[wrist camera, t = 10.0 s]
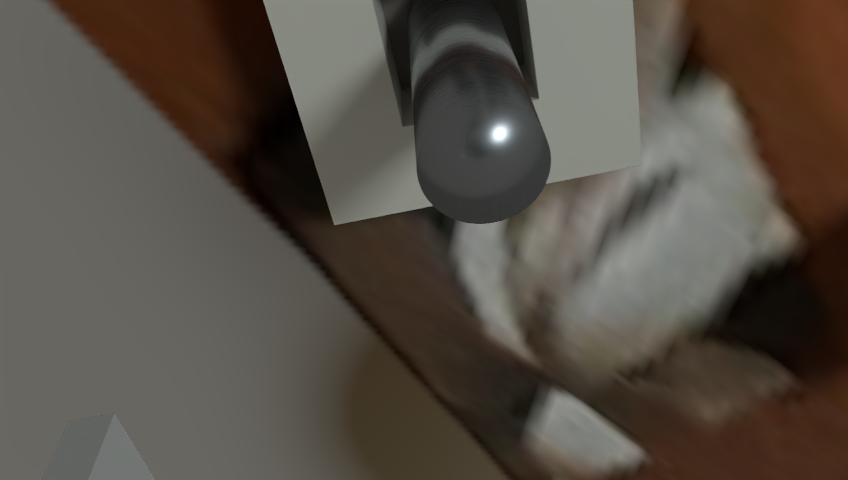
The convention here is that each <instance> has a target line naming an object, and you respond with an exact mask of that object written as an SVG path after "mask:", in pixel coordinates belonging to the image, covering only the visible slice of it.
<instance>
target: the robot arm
mask: <svg viewBox="0 0 848 480" xmlns="http://www.w3.org/2000/svg"><path fill="white" fill-rule="evenodd" d="M42 480H155V479H154V477H153V476H152V474H151V472H150V471H149V469H148V467H147V466H146V464H145V463H144V461H143V459H142V458H141V456H140V454H139V453H138V451H137V449H136V448H135V446H134V444H133V443H132V441H131V440H130V438H129V437H128V435H127V433H126V431H125V430H124V428H123V427H122V425H121V423H120V421H119V420H118V418H117V417H116V415H115V413H112V414H107V415H101V416H95V417H91V418H84V419H79V420H73V421H69V422H68V424H67V426H66V428H65V430H64V433H63V435H62V437H61V439H60V441H59V444H58V446H57V448H56V450H55V452H54V455H53V457H52V459H51V461H50V463H49V466H48V468H47V470H46V472H45V474H44V477H43V479H42Z"/></svg>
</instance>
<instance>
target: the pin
mask: <svg viewBox="0 0 848 480" xmlns="http://www.w3.org/2000/svg"><path fill="white" fill-rule="evenodd" d="M407 24H408V40H409V56H410V72H411V88H412V104H413V120H414V136H415V152H416V168H417V177H418V181H419V184H420V187H421V189H422V191H423V194H424V195H425V197H426V198H427V200H428V201H429V202H430V203H431V204H432V205H433V206H434V207H435V208H436V209H437V210H439V211H440V212H442V213H443V214H445V215H446V216H448V217H451V218H453V219H456V220H458V221H462V222H467V223H475V224H485V223H493V222H497V221H502V220H504V219H507V218H510V217H512V216H514V215H516V214H518V213H519V212H521V211H522V210H524V209H525V208H527V207H528V206H529V205H530V204H531V203H532V202H533V201H534V200H535V199H536V198H537V197H538V195H539V194H540V193H541V191H542V190H543V188H544V186H545V184H546V182H547V179H548V177H549V173H550V167H551V153H550V148H549V144H548V141H547V139H546V136H545V133H544V131H543V128H542V126H541V123H540V120H539V118H538V115H537V113H536V110H535V107H534V105H533V102H532V100H531V97H530V94H529V92H528V89H527V87H526V84H525V81H524V79H523V76H522V74H521V71H520V68H519V66H518V63H517V61H516V58H515V56H514V53H513V50H512V48H511V45H510V43H509V40H508V37H507V35H506V32H505V30H504V27H503V24H502V22H501V19H500V17H499V14H498V11H497V9H496V6H495V4H494V1H493V0H411V3H410V5H409V9H408V15H407Z"/></svg>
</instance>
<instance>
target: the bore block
mask: <svg viewBox="0 0 848 480" xmlns="http://www.w3.org/2000/svg"><path fill="white" fill-rule="evenodd" d="M493 1H494V4H495V6H496V9H497V11H498V14H499V17H500V19H501V22H502V24H503V27H504V30H505V32H506V35H507V37H508V40H509V43H510V45H511V48H512V50H513V53H514V56H515V58H516V61H517V63H518V66H519V68H520V71H521V74H522V76H523V79H524V81H525V84H526V87H527V89H528V92H529V94H530V97H531V100H532V102H533V105H534V107H535V110H536V113H537V115H538V118H539V120H540V123H541V126H542V128H543V131H544V133H545V136H546V139H547V141H548V144H549V148H550V153H551V167H550V173H549V177H548V179H547V182H546V184H547V183H553V182H558V181H563V180H568V179H573V178H578V177H583V176H588V175H594V174H599V173H604V172H609V171H614V170H619V169H624V168H629V167H635V166H640V165H642V155H641V137H640V119H639V102H638V84H637V66H636V48H635V31H634V13H633V0H493ZM263 2H264V5H265V8H266V12H267V15H268V18H269V21H270V24H271V27H272V30H273V34H274V37H275V40H276V43H277V46H278V49H279V52H280V56H281V59H282V62H283V65H284V68H285V71H286V74H287V78H288V81H289V84H290V87H291V90H292V93H293V96H294V100H295V103H296V106H297V109H298V112H299V115H300V118H301V122H302V125H303V128H304V131H305V134H306V137H307V141H308V144H309V147H310V150H311V153H312V156H313V159H314V163H315V166H316V169H317V172H318V175H319V178H320V181H321V185H322V188H323V191H324V194H325V197H326V200H327V203H328V207H329V210H330V213H331V216H332V219H333V222H334V225H338V224H343V223H348V222H353V221H358V220H363V219H368V218H373V217H379V216H384V215H389V214H394V213H399V212H404V211H409V210H414V209H419V208H425V207H430V206H433V205H432V204H431V203H430V202H429V201H428V200H427V198H426V197H425V195H424V194H423V191H422V189H421V187H420V184H419V181H418V177H417V168H416V152H415V136H414V120H413V104H412V88H411V72H410V56H409V40H408V24H407V15H408V9H409V5H410V3H411V0H263Z"/></svg>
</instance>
